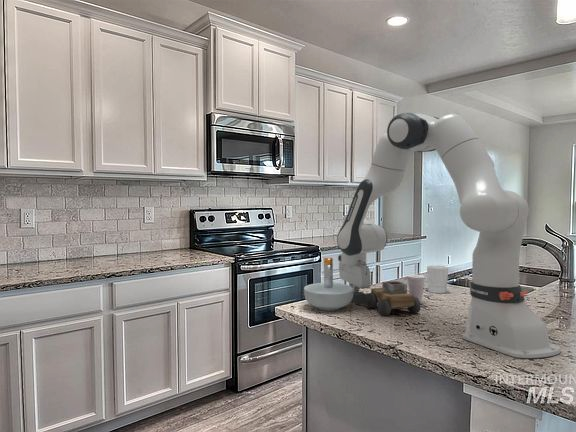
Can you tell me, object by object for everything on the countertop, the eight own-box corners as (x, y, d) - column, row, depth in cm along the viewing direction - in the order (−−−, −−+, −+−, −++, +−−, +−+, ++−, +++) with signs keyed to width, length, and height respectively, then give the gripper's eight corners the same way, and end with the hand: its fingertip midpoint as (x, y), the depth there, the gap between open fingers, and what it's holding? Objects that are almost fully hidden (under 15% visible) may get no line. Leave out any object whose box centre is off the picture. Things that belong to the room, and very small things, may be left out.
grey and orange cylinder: (334, 288, 136) (334, 258, 136) (325, 288, 135) (325, 259, 135) (331, 286, 139) (330, 257, 139) (322, 286, 138) (322, 257, 138)
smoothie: (423, 300, 146) (423, 262, 145) (427, 305, 139) (427, 265, 139) (405, 300, 146) (405, 262, 146) (408, 305, 140) (408, 265, 140)
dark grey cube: (366, 303, 143) (366, 294, 143) (355, 304, 142) (355, 294, 142) (361, 301, 147) (361, 291, 147) (351, 301, 146) (351, 292, 146)
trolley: (420, 314, 129) (420, 286, 128) (385, 317, 125) (385, 288, 125) (397, 303, 142) (397, 278, 142) (365, 306, 139) (365, 280, 139)
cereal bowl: (294, 308, 137) (293, 287, 137) (323, 299, 149) (323, 280, 149) (334, 317, 126) (334, 295, 125) (363, 307, 138) (363, 286, 138)
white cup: (451, 293, 156) (451, 268, 156) (430, 294, 156) (430, 268, 156) (443, 289, 164) (443, 265, 164) (424, 289, 164) (424, 265, 164)
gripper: (375, 262, 139) (375, 301, 139) (350, 254, 159) (351, 289, 159) (358, 263, 137) (358, 303, 138) (336, 255, 157) (336, 290, 157)
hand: (354, 295), depth 148 cm, fingers closed
